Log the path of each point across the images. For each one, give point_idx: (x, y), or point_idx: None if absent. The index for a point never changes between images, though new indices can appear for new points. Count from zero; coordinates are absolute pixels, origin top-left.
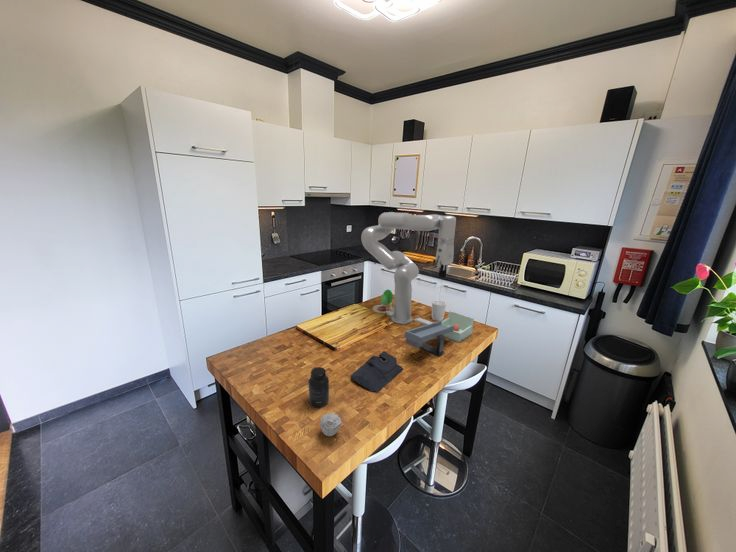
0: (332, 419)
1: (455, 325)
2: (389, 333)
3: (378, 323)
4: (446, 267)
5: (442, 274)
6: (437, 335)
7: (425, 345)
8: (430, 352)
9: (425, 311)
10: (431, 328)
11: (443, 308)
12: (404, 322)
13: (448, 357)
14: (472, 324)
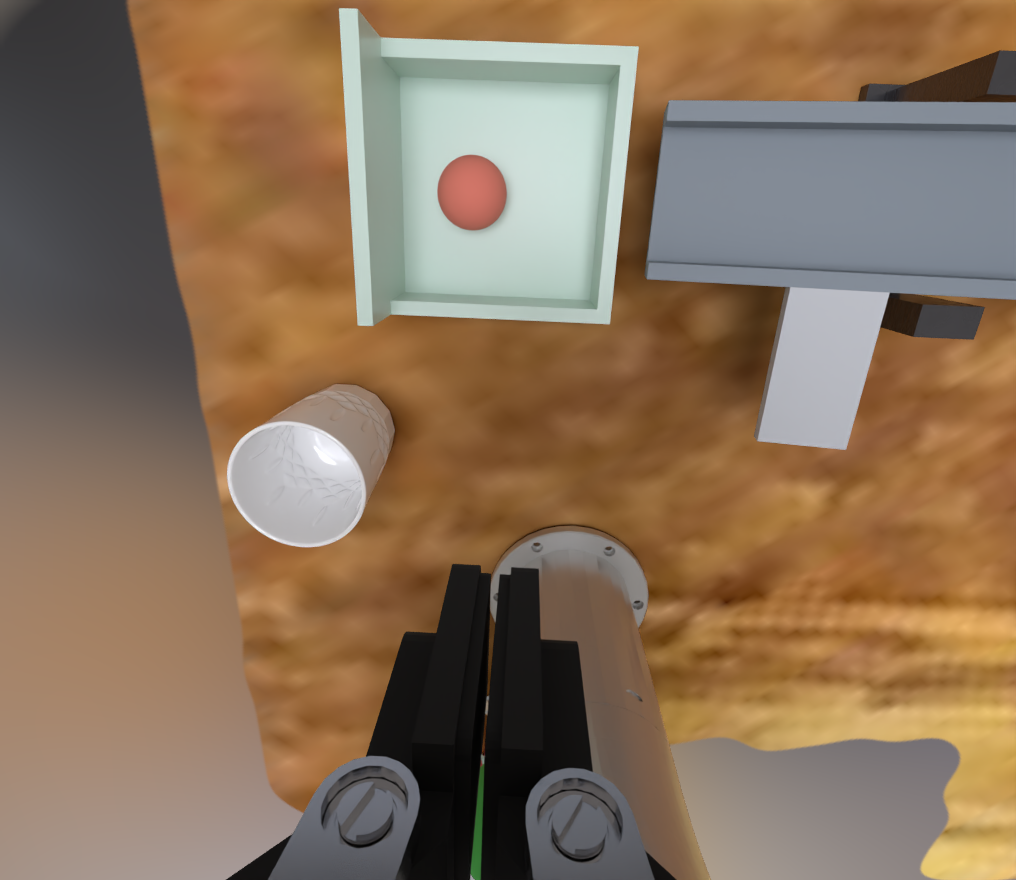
0: None
1: (484, 186)
2: (808, 536)
3: (721, 655)
4: (378, 867)
5: (578, 671)
6: None
7: None
8: None
9: (311, 550)
10: (862, 258)
11: (323, 413)
12: (622, 549)
13: (910, 21)
14: (376, 33)
